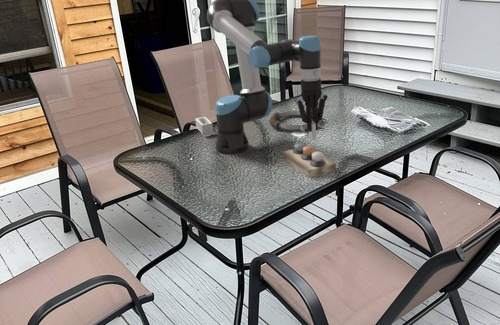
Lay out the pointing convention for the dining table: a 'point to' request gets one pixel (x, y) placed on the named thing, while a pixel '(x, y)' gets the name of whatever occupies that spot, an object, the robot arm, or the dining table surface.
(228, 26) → the robot arm
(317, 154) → the button cream
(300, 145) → the button slate
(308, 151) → the button terracotta
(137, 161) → the dining table surface
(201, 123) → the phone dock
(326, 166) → the button panel
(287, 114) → the spiked ring
